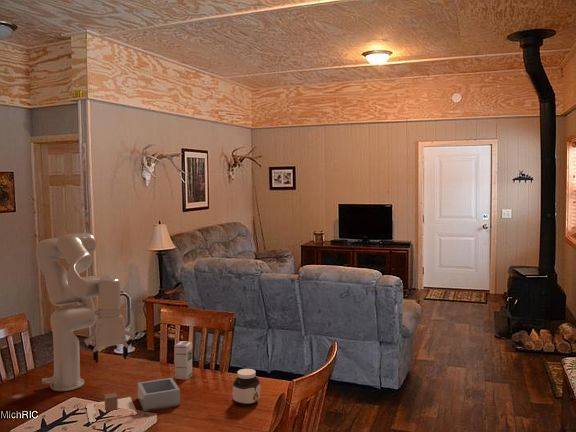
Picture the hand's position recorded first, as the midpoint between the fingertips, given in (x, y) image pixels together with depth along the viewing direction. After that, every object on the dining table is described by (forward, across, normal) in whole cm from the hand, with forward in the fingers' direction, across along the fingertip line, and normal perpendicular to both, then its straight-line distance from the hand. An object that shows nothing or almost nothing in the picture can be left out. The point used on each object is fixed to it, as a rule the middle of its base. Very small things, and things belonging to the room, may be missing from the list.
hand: (110, 359), depth 188 cm
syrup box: (+19, +32, +22) cm, 43 cm away
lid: (+19, 0, +1) cm, 19 cm away
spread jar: (+19, +47, -11) cm, 52 cm away
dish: (+19, +17, +1) cm, 25 cm away
